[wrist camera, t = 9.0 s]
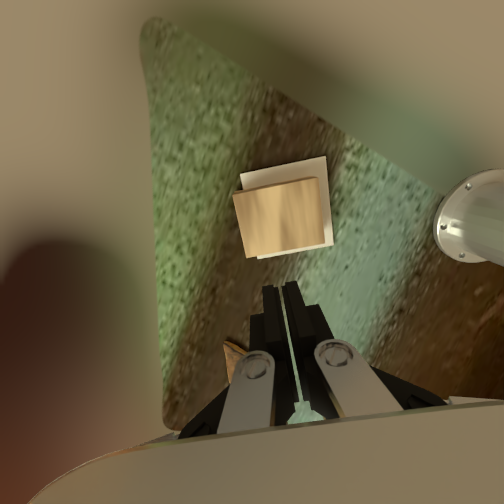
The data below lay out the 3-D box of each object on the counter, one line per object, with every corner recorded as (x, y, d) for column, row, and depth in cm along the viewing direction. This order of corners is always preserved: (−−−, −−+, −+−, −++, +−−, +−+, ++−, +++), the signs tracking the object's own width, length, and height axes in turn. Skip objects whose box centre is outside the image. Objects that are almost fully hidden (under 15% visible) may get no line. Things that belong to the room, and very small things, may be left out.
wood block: (235, 191, 32) (310, 175, 31) (247, 247, 34) (317, 234, 34) (232, 194, 28) (318, 177, 27) (246, 257, 31) (325, 243, 30)
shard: (224, 336, 41) (222, 343, 39) (269, 333, 41) (269, 340, 39) (231, 384, 45) (230, 392, 43) (272, 381, 44) (273, 390, 43)
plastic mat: (324, 156, 31) (325, 155, 30) (332, 244, 35) (333, 245, 34) (240, 173, 31) (239, 174, 31) (257, 258, 35) (257, 259, 35)
